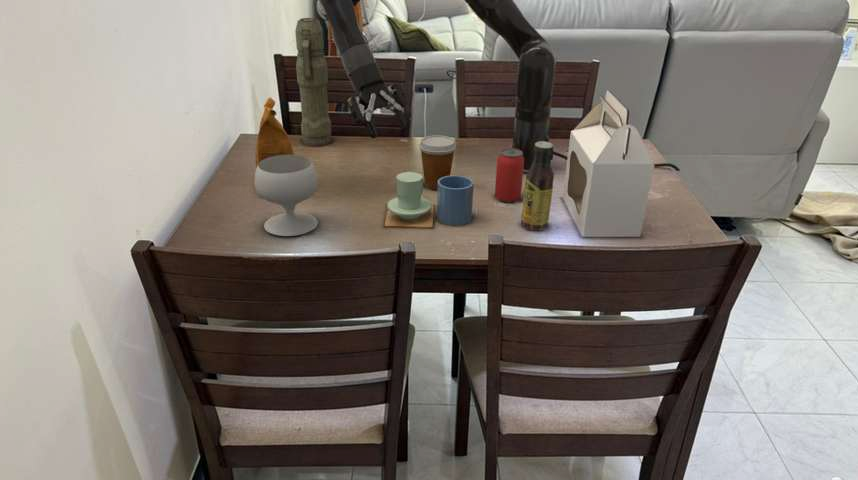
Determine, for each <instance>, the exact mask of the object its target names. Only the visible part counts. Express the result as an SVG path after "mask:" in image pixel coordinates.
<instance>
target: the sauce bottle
mask: <svg viewBox="0 0 858 480" xmlns="http://www.w3.org/2000/svg"><path fill="white" fill-rule="evenodd" d="M534 151H535V152H534V160H533V163H532V165H531V167H530V169H529V171H528V173H526V175H525V179H524V188H523V189H524V190H523V196H522V197H523V198H522V208H521V217H520V219H521V226H522V227H524V228H525V229H527V230H531V231H541V230H544V229H546V228H547V226H548V222H549V219H550V211H551V204H552V196H553V190H554V178H555V173H554V170H553V167H552V166H551V163H552V160H551V154H552V151H554V144H553V143H551V142H545V141H540V142H537V143H535V146H534Z"/></svg>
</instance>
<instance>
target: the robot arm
mask: <svg viewBox="0 0 858 480" xmlns="http://www.w3.org/2000/svg"><path fill="white" fill-rule="evenodd" d="M360 1H361V0H317V1H316V9H317V13H318V15H319V16H320V18H322V19H323V20H325V21H326V22H329V24H330V27H331V34H332V39H333V42H334V45H335V48H336V50H337V52H338V55H339V56H340V60H341V62H342V66H343V68H344V70H345V73H346V75H347V77H348V79H349V82H350V84H351V87H352V89H353V92H355V93H356V96H351V97H349V98H348V99H347V100H346V104H347V106H348V110H349V111H350V115H351V117H352V120H353V122H354V124H356V125H363V126H364V128H365V130H366V133H367V135H368V137H369V138H371V139H372V140H373V139H376V138H377V137H379V133H378V131H377V129H376V128H377V127H376V126H375V124H374V122H373V120H372V114H373V112H374V111H376V110H380V109H383V108H385V109H386V110H390V112H392V113H394V114H393V116H394V118H395V120H396V123H397V125H398V127H399V129H403V128H405V127H406V126H407V119H406V116H405V114H404V112H403V109H404V108H405V107H406V106H407V104H408V103H407V101H406V99H405V97H404V95H403V92H402V91H401V89H400V87H399V84H398V83H397V82H394V83H391V85H388V86H387V85H386V84H385V80H384V77H383V76H384V75H383V74H382V72H381V69H380V67H379V65H378V63H377V61H376V57H375V55H374V54H373V51H372V49H371V48H370V46H369V44H368V42H367V41H366V37H365V35H364V33H363V30H362V29H361V27H360V23H359V21H358V16H357V14H356V9H355V6H357V5H358V4H359V3H360ZM464 2H465V3H466V4H467V6H468V7H469V8H470V9H471V10H472V12H473V13H474V14H475V15H476V17H477V18H478V19H479V20H480V21H481V22H482V23H483V24H485V25H486V26H487V27H488V28H489V29H491V30H492V31H493V32H495V33H496V34H497V35H498V36H500V38H502V39H503V40H504V41H505V42H506V44H508V46H509V47H510V49H511V50H512V51H513V53H514V54H515V56H516V57H517V59H518V62H517V63H518V65H517V74H516V75H517V76H516V87H515V89H516V91H515V99H516V101H515V111H514V124H513V136H512V147H511V148H514V149H518V150H521V151H522V152H523V157H524V168H523V174H527V173H528V171H529V169H530V167H531V165H532V163H533V160H534V152H535V151H534V146H535V143H537V142H540V141H545V142H549V141H550V138H549V130H550V129H549V128H550V120H551V119H550V118H551V110H552V101H553V90H554V89H553V88H554V81H555V80H554V79H555V70H556V65H557V53H556V51H555V48H554V47H553V45H552V44H551V43H549V42H548V40H546V39H545V38H544V36H543V35H541V34H540V32H538V31H537V30H536V29H535V27H534V26H532V25H531V23H530V22H529V21H528V20H527V19H526V17H525V16H524V15H523V13H522V11H521V10H520V8H519V7H518V5H517V4H516V2H515V1H514V0H464ZM390 95H391V96H390ZM359 105H362V106H363V107H362V111H361V108H360V106H359ZM554 156H557V157H559V158H562V159H563V160H566V161H567V158H568V155H564V154H563V153H559V152H557V151H554V150H553V151H552V154H551V161H553V160H554ZM654 164H655V165H654V168H661V167H662V168H663V167H670V168H672V169H674V170H675V171H676V172H680V171H681V169H680V168H679V167H678V166H677V165H676V164H673V163H669V162H662V163H654Z"/></svg>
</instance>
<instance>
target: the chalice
mask: <svg viewBox="0 0 858 480" xmlns="http://www.w3.org/2000/svg"><path fill="white" fill-rule="evenodd" d="M253 182H254V184H253V185H254V188H255V191H256V193H257V194H258V195H259V196H260V198H262V199H263V200H265V201H267V202H269V203H272V204H275V205H278V206H281V207H282V208H283V209H284V212H283V213H279V214H276V215H274V216H271V217H270V218H268V219H267V220H266V221H265V222H264V224H263V227H264V230H265V231H266V232H267V233H269V234H272V235H274V236H280V237H281V236H282V237H294V236H301V235H304V234H308V233H309V232H311V231H313V230H315V229H316V227H317V226H318V224H319V222H318V219H317V218H316V217H314V216H313V215H312V214H308V213H305V212H297V211H295V208H296V206H297V205H299V204H300V203H302V202H304V201H306V200H308V199H309V198H311V197H312V196H313V195H314V194H315V193H316V192H317V190H318V189H319V175H318V171H317V169H316V167H315V165H314V163H313V162H312V160H311V159H310V158H308V157H307V156H303V155H299V154H294V155H278V156H272V157H269V158H266V159H264V160H262V161H261V162H260V163H259V164H258V166H257V168H256V167H255V173H254V181H253Z"/></svg>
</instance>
